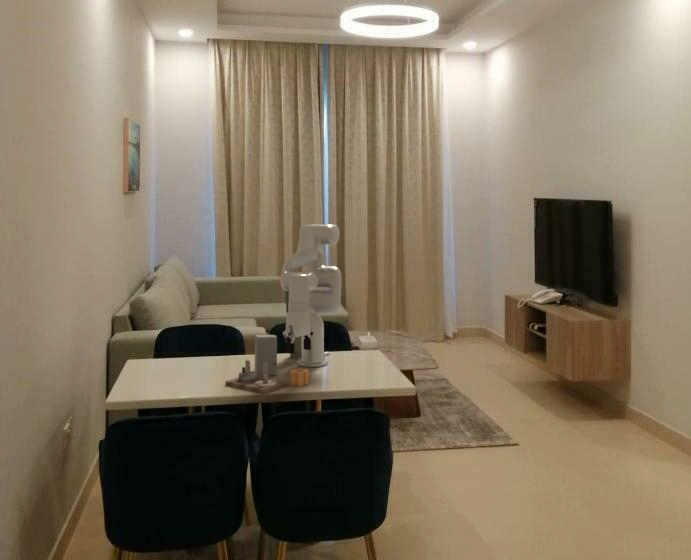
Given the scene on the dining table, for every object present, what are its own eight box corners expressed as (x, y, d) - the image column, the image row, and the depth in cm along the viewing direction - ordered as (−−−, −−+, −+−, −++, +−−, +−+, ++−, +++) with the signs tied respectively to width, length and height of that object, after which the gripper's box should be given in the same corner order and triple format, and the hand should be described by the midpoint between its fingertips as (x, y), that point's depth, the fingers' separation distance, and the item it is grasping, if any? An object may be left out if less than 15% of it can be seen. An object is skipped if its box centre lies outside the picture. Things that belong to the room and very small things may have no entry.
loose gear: (298, 379, 268) (298, 367, 268) (312, 382, 264) (312, 370, 264) (285, 383, 263) (285, 371, 262) (300, 386, 258) (300, 373, 258)
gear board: (225, 384, 261) (225, 361, 260) (249, 377, 271) (249, 355, 270) (264, 393, 249) (264, 369, 248) (288, 386, 260) (287, 362, 259)
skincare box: (256, 377, 273) (256, 337, 271) (254, 372, 280) (253, 334, 278) (278, 375, 275) (277, 336, 273) (275, 371, 282) (274, 333, 280)
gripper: (305, 303, 269) (305, 347, 271) (276, 308, 255) (276, 353, 257) (321, 305, 265) (320, 349, 266) (291, 309, 251) (291, 356, 252)
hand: (299, 351), depth 261 cm, fingers open, 9 cm apart
